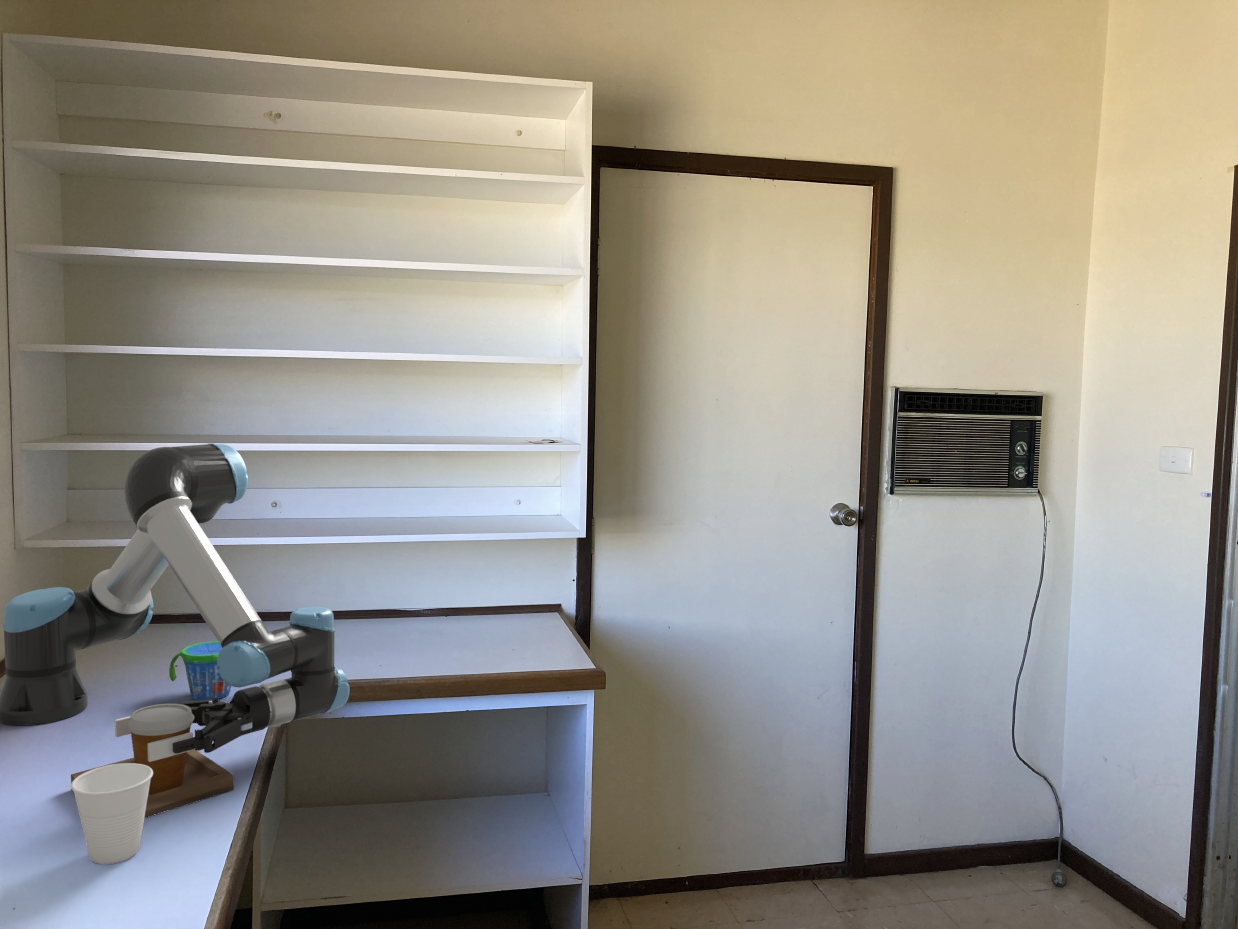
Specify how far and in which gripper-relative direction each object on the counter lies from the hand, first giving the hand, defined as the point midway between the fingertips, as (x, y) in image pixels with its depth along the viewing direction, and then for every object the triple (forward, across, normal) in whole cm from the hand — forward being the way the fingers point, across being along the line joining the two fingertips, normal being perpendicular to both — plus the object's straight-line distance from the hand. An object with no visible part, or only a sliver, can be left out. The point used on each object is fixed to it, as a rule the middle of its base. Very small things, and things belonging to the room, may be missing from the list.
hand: (131, 740), depth 144 cm
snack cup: (-28, +37, -9) cm, 48 cm away
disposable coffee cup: (-3, -2, -8) cm, 9 cm away
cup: (+8, -17, -9) cm, 21 cm away
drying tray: (-3, 0, -9) cm, 9 cm away
